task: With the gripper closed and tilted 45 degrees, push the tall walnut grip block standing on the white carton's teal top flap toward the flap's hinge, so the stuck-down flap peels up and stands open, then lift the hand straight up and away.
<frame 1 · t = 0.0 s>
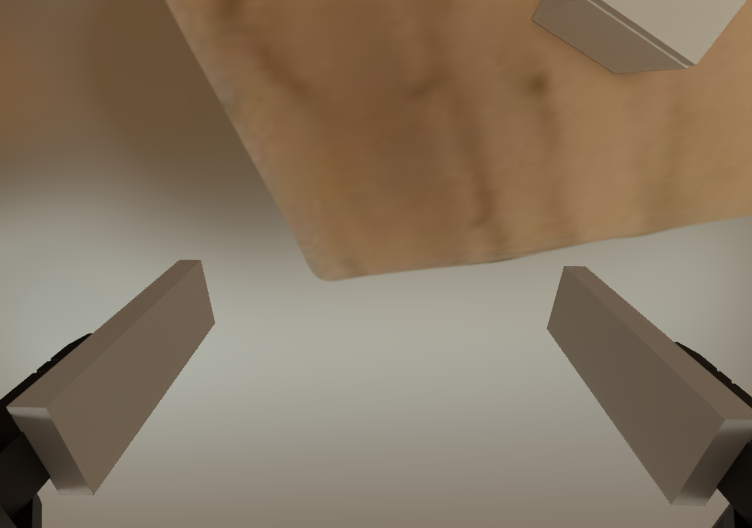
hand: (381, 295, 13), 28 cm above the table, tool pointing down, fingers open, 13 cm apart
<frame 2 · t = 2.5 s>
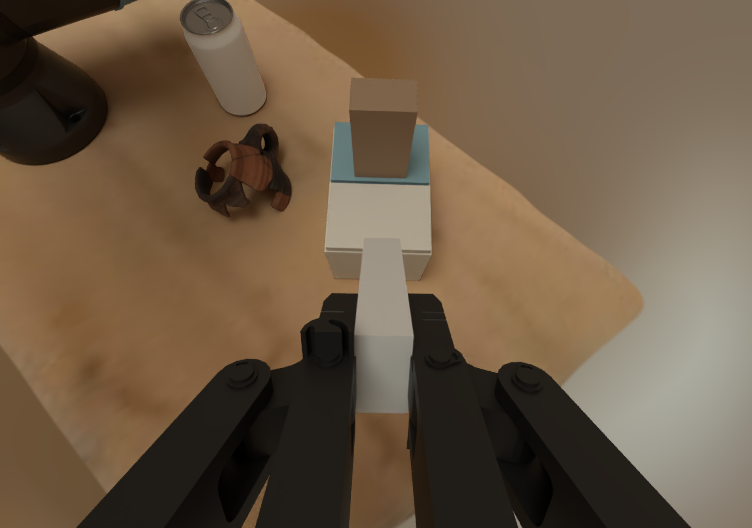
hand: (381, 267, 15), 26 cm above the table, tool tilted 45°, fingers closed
flap: (382, 123, 32), point 14 cm above the table, hinge at 0.0°
carton: (378, 224, 44), on the table
can: (244, 99, 50), on the table
pottery mug: (257, 186, 46), on the table
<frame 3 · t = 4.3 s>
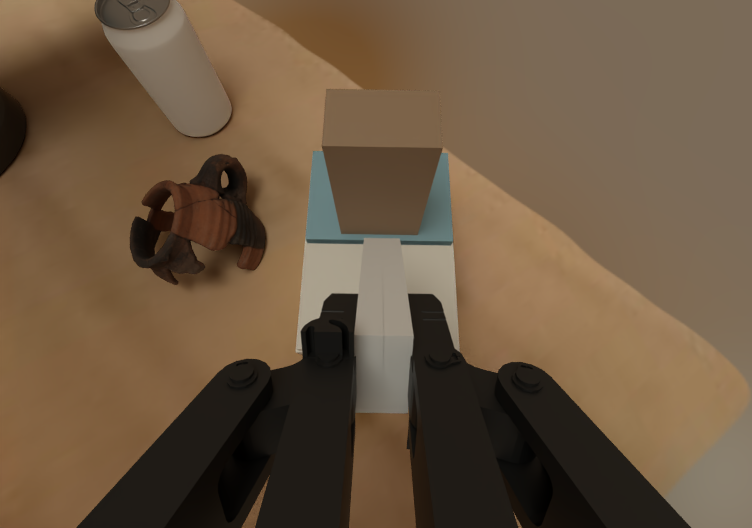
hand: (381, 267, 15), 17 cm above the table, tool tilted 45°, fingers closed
flap: (380, 157, 20), point 14 cm above the table, hinge at 0.0°
carton: (377, 283, 32), on the table
can: (204, 116, 39), on the table
pottery mug: (220, 235, 34), on the table
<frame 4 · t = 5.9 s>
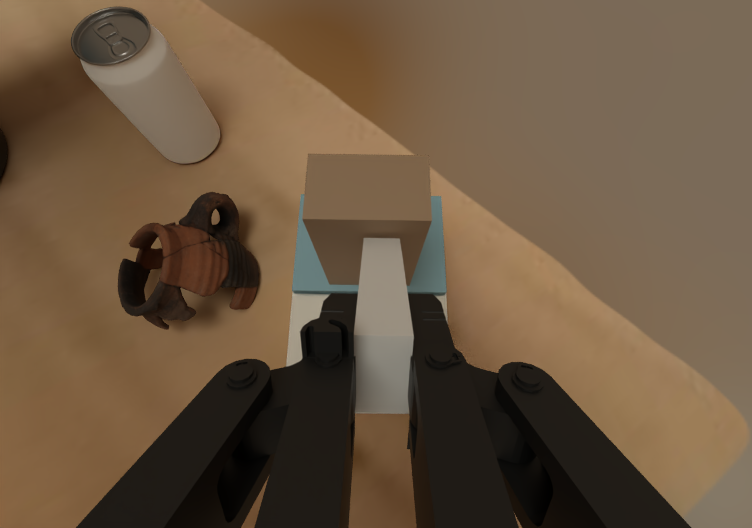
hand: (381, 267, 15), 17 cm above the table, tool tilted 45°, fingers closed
flap: (369, 211, 19), point 14 cm above the table, hinge at 1.8°, touching gripper
carton: (370, 319, 32), on the table
can: (192, 140, 37), on the table
pottery mug: (213, 271, 33), on the table
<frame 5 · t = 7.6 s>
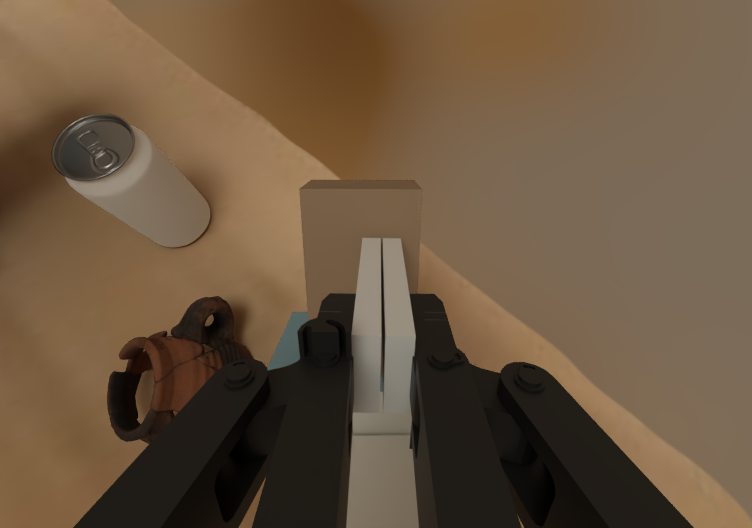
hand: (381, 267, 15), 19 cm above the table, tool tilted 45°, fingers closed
flap: (363, 273, 19), point 15 cm above the table, hinge at 51.4°, touching gripper
carton: (366, 416, 31), on the table
can: (181, 220, 36), on the table
pottery mug: (207, 369, 32), on the table
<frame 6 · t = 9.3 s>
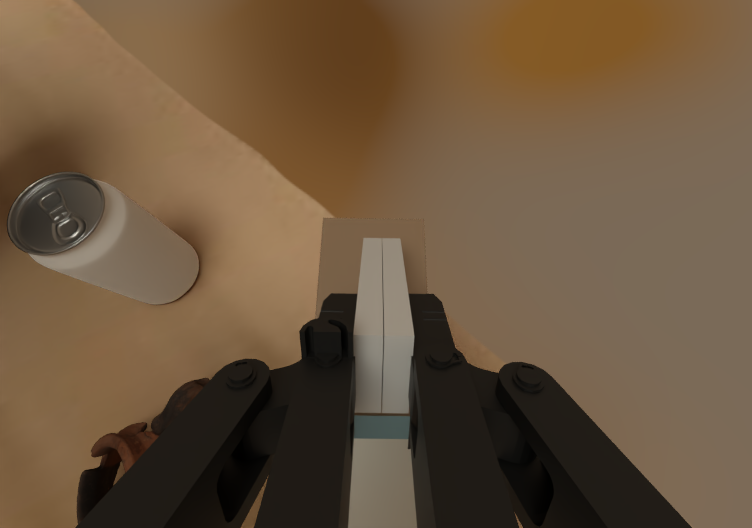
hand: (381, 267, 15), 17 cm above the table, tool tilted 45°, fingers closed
flap: (372, 329, 18), point 13 cm above the table, hinge at 93.8°, touching gripper
carton: (370, 510, 27), on the table
can: (167, 272, 33), on the table
pottery mug: (195, 453, 28), on the table
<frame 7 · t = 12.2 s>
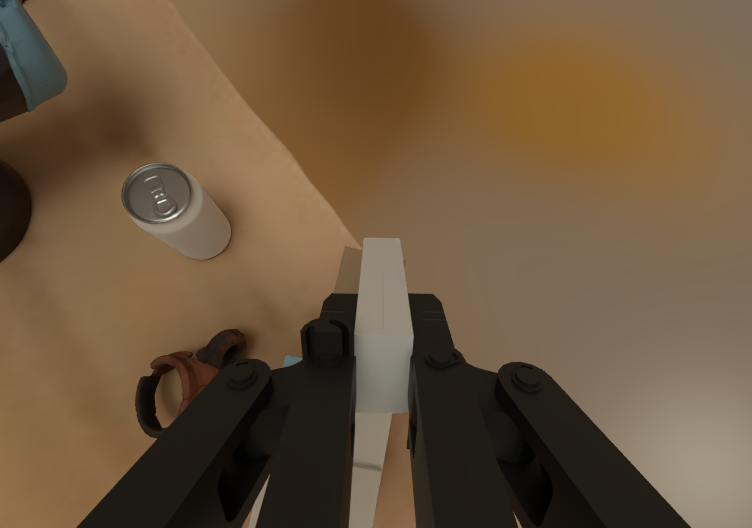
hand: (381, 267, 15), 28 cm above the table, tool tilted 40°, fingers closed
flap: (359, 318, 30), point 13 cm above the table, hinge at 94.0°
carton: (326, 431, 39), on the table
can: (204, 234, 42), on the table
pottery mug: (214, 378, 39), on the table
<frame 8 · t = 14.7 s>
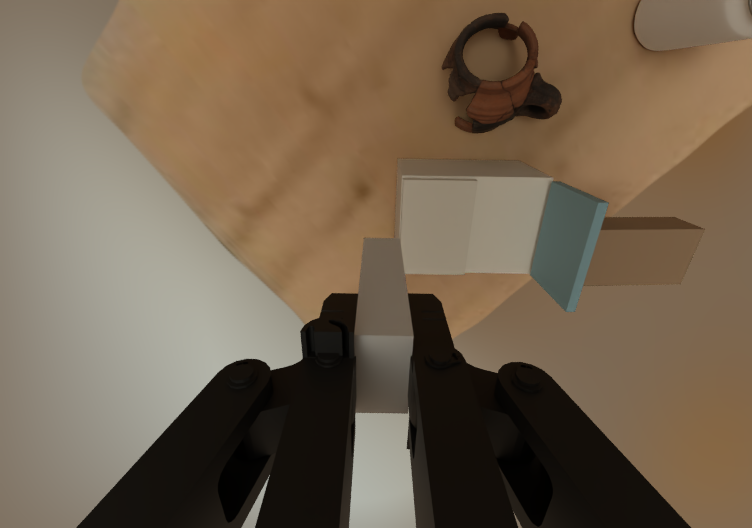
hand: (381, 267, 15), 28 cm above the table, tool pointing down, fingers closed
flap: (611, 244, 32), point 13 cm above the table, hinge at 94.0°
carton: (453, 201, 43), on the table
can: (664, 13, 35), on the table
pottery mug: (490, 85, 38), on the table
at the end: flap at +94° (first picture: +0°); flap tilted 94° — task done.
